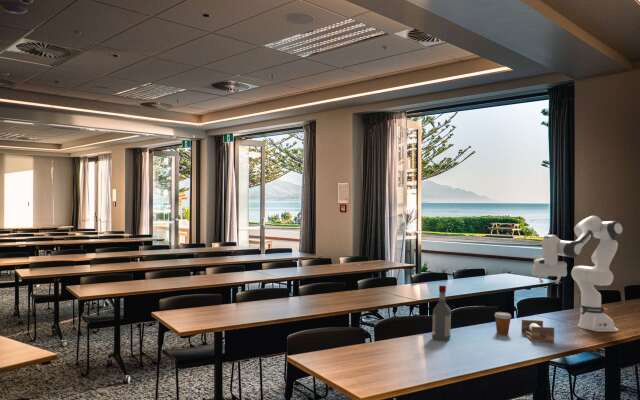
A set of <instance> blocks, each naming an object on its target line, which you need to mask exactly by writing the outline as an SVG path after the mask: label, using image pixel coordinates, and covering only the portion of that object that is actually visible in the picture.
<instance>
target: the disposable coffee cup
mask: <svg viewBox="0 0 640 400" xmlns="http://www.w3.org/2000/svg"><path fill="white" fill-rule="evenodd" d="M511 318H512V315H511V313H509V312H502V311H497V312H495V313H494V319H495V328H496V334H497V335H501V336H508V335H509V330H510V324H511Z"/></svg>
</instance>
